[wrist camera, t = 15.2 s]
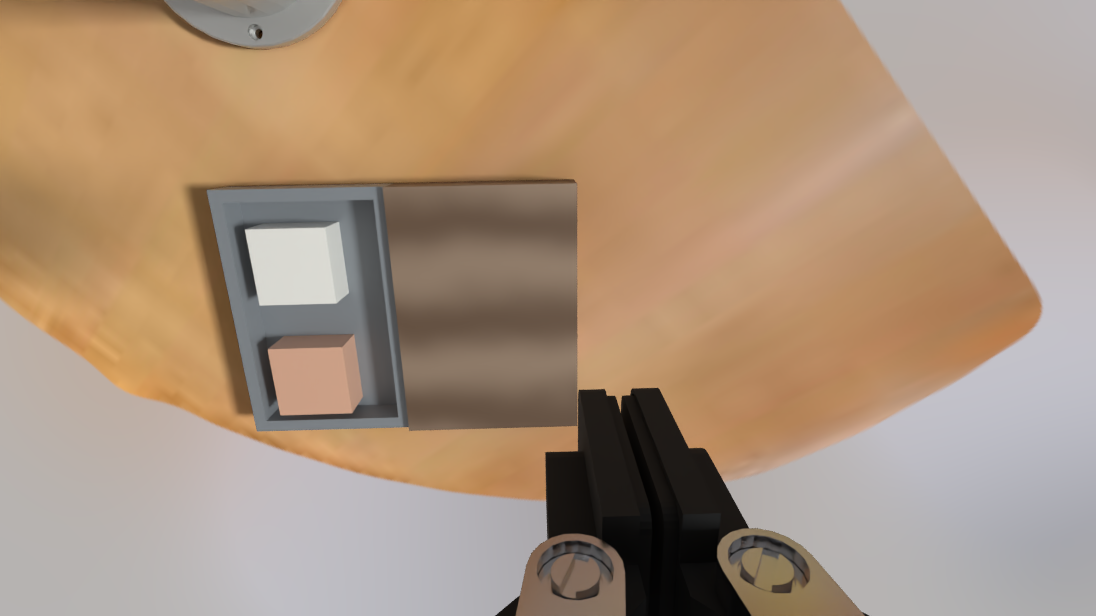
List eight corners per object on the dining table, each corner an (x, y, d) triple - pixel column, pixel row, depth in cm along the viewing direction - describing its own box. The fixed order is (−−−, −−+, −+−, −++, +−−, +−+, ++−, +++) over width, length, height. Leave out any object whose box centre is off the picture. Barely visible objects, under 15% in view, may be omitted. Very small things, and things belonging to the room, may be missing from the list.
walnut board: (394, 183, 36) (382, 187, 33) (573, 179, 36) (577, 183, 33) (417, 410, 41) (409, 430, 38) (574, 405, 41) (577, 425, 38)
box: (228, 186, 36) (206, 190, 33) (394, 183, 36) (384, 186, 33) (273, 414, 41) (256, 431, 38) (417, 410, 41) (410, 427, 39)
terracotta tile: (342, 347, 36) (354, 334, 38) (267, 349, 36) (283, 336, 38) (352, 413, 38) (362, 396, 40) (280, 415, 38) (295, 398, 40)
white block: (325, 227, 34) (339, 221, 36) (244, 229, 34) (263, 223, 36) (336, 303, 35) (348, 292, 38) (259, 305, 35) (277, 294, 37)
